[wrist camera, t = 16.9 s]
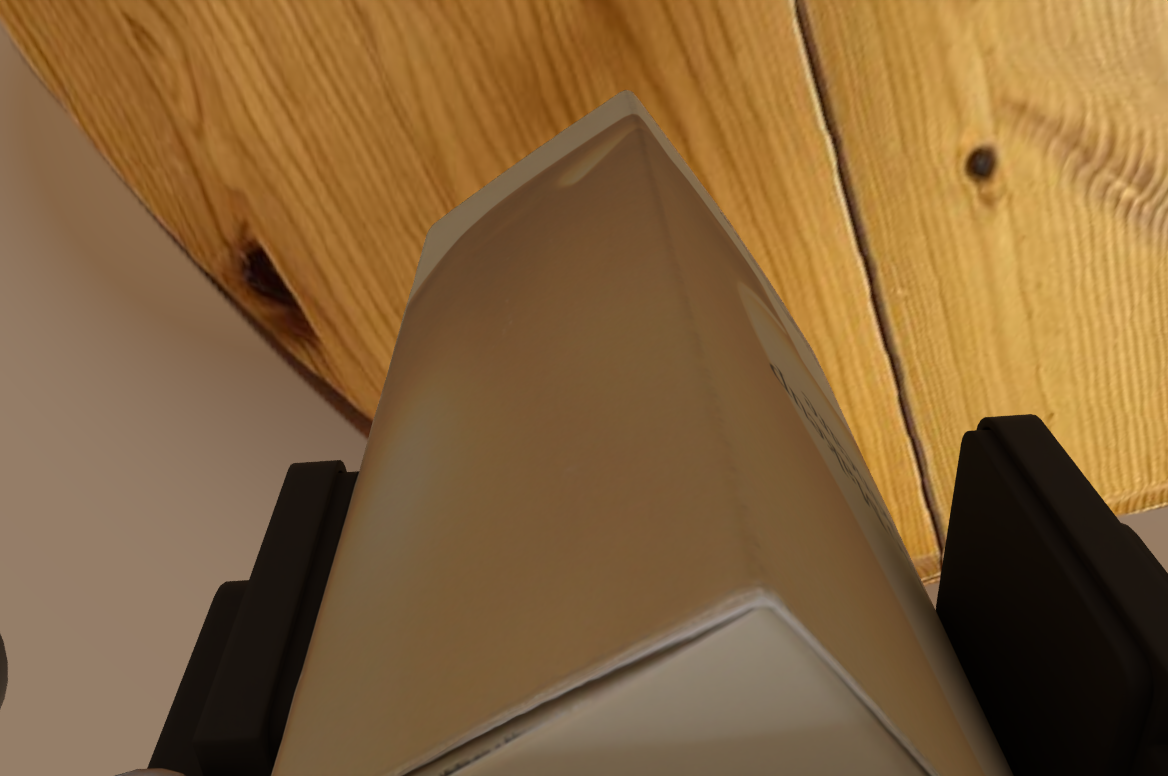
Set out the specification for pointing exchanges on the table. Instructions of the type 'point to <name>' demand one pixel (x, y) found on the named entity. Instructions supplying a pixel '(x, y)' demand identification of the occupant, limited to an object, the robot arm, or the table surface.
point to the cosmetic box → (618, 513)
